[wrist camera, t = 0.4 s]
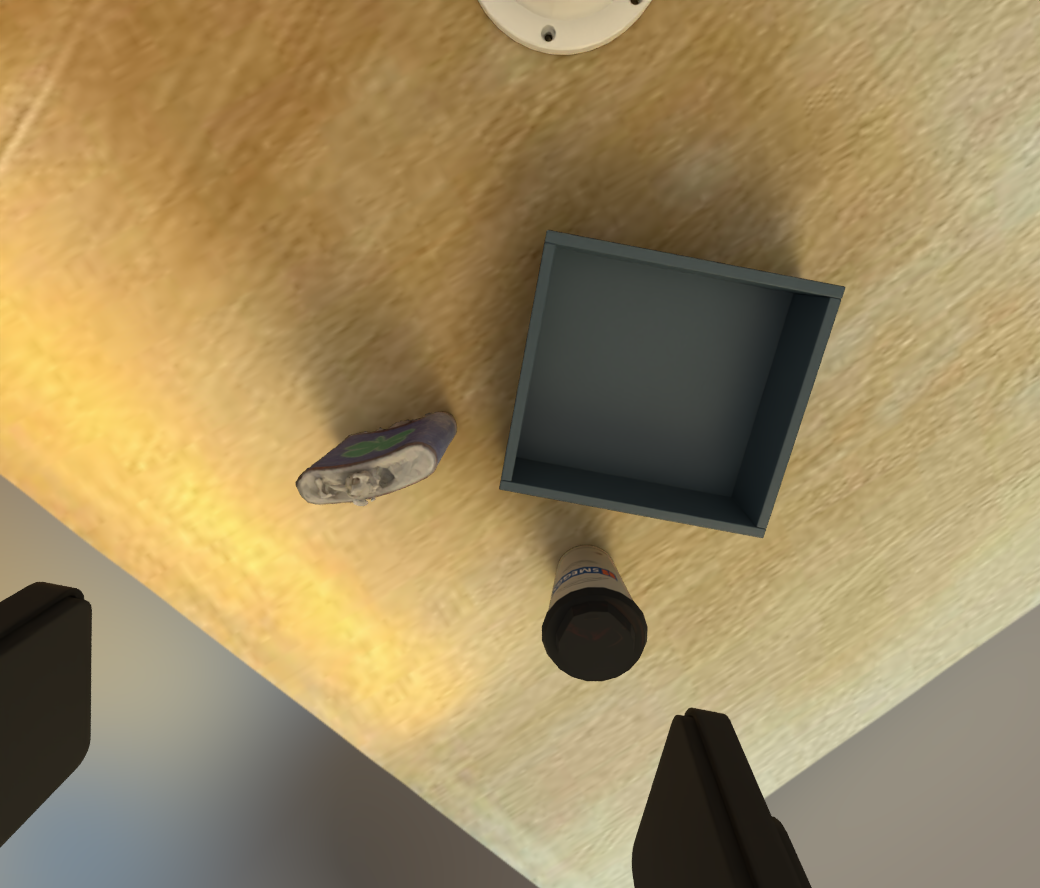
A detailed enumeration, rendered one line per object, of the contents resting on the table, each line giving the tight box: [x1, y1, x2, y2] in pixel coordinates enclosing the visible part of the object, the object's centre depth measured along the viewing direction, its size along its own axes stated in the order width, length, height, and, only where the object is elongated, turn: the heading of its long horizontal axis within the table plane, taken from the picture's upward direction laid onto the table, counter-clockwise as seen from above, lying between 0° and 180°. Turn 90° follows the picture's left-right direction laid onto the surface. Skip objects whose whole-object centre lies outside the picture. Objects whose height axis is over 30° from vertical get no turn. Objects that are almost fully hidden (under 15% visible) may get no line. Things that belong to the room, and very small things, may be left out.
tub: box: [499, 230, 845, 538], centre depth 40 cm, size 16×18×6 cm
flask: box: [296, 412, 457, 506], centre depth 40 cm, size 9×3×11 cm, turn 105°
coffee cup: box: [542, 545, 647, 681], centre depth 43 cm, size 7×7×10 cm
